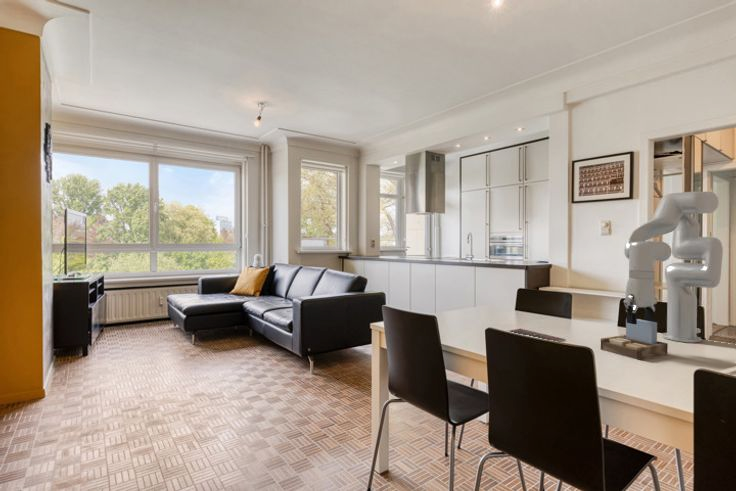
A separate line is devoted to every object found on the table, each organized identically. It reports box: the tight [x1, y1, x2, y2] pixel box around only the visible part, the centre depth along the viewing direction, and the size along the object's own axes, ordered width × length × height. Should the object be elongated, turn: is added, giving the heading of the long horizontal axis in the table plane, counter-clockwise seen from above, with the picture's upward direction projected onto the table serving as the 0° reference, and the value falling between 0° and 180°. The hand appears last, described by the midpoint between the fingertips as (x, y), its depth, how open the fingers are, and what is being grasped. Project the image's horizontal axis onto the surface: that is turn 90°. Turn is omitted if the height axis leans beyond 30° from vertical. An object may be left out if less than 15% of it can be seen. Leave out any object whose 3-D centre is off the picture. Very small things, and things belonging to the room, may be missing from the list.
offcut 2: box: [626, 343, 646, 350], centre depth 137 cm, size 5×5×4 cm
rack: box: [600, 334, 668, 361], centre depth 141 cm, size 15×14×5 cm
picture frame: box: [508, 328, 566, 343], centre depth 162 cm, size 16×2×22 cm
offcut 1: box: [609, 338, 631, 347], centre depth 142 cm, size 5×5×4 cm
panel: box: [625, 318, 658, 344], centre depth 142 cm, size 3×9×11 cm, turn 23°
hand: (640, 322), depth 142 cm, fingers open, 9 cm apart
